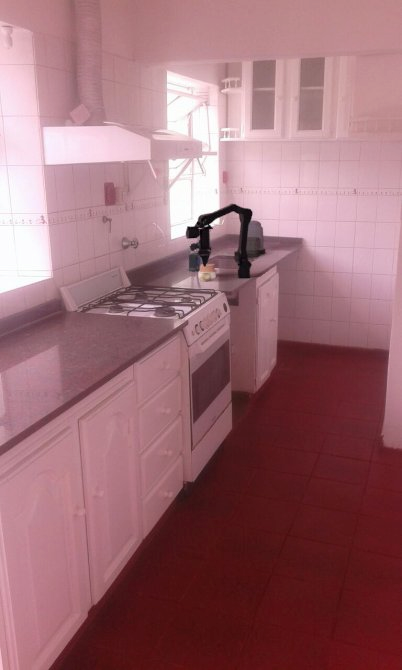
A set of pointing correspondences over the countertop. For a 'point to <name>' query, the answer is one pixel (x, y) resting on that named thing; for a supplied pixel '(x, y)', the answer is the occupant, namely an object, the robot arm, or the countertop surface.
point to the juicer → (255, 240)
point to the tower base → (213, 274)
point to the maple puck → (205, 277)
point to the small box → (194, 262)
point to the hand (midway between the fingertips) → (205, 265)
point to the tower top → (207, 268)
